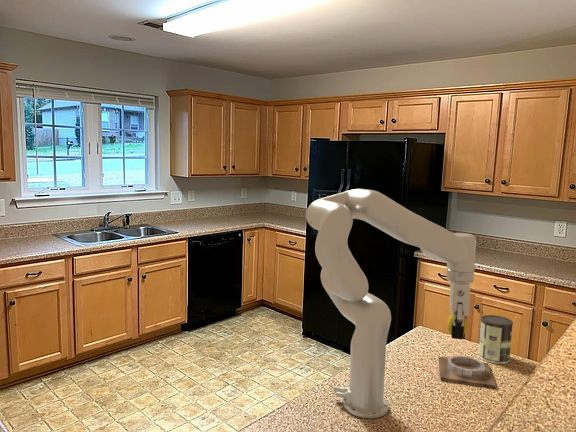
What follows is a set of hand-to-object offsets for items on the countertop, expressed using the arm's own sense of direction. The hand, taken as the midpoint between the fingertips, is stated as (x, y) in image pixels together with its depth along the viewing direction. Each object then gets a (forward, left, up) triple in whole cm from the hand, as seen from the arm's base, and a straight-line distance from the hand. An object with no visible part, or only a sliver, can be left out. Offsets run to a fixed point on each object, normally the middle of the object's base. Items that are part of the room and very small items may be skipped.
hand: (456, 334), depth 132 cm
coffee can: (+16, +29, -18) cm, 38 cm away
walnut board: (+5, +13, -18) cm, 23 cm away
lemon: (0, 0, -1) cm, 1 cm away
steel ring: (+5, +13, -18) cm, 23 cm away
